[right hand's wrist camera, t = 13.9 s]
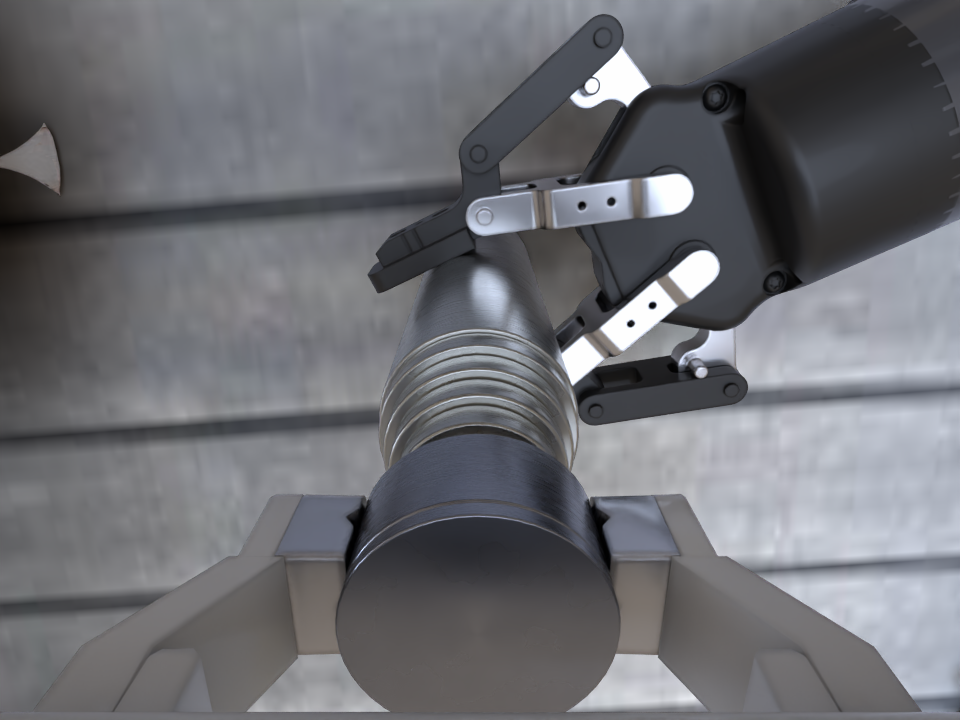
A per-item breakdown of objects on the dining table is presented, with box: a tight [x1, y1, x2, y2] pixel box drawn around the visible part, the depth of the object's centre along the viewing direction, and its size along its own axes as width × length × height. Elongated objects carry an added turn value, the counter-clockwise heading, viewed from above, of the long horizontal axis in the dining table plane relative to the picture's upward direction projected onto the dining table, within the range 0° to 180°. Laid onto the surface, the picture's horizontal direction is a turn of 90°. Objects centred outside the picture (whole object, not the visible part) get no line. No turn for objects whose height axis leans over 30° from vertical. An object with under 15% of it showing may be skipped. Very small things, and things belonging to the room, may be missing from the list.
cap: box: [335, 434, 621, 712], centre depth 9 cm, size 4×4×2 cm
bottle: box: [379, 232, 579, 472], centre depth 19 cm, size 4×4×21 cm
